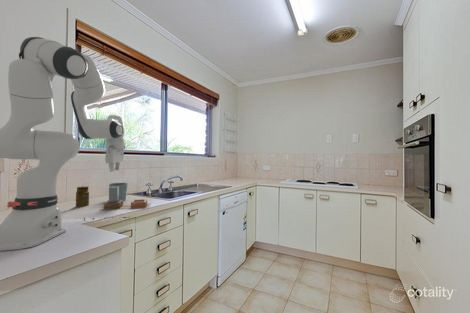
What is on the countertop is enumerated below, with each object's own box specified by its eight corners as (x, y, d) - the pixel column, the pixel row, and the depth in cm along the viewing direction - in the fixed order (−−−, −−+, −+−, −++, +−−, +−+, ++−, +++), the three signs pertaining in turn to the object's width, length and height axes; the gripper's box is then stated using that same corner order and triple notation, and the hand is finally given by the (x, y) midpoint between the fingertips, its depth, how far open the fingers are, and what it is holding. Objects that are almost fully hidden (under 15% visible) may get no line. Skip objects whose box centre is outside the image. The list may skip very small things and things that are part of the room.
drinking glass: (106, 204, 131) (106, 184, 131) (111, 201, 141) (112, 182, 141) (124, 204, 134) (125, 184, 134) (128, 200, 143) (129, 182, 143)
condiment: (89, 206, 127) (89, 185, 127) (90, 209, 120) (91, 187, 120) (73, 208, 122) (73, 186, 122) (74, 211, 115) (74, 188, 115)
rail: (148, 210, 118) (148, 202, 118) (98, 213, 112) (98, 204, 112) (150, 205, 130) (151, 198, 130) (106, 207, 124) (106, 199, 124)
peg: (116, 207, 118) (117, 187, 118) (108, 208, 117) (109, 187, 117) (118, 206, 122) (119, 186, 122) (110, 206, 121) (111, 186, 121)
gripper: (116, 145, 110) (115, 172, 110) (125, 146, 130) (125, 169, 130) (102, 144, 109) (101, 172, 109) (114, 146, 128) (113, 169, 129)
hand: (114, 170), depth 120 cm, fingers open, 8 cm apart
